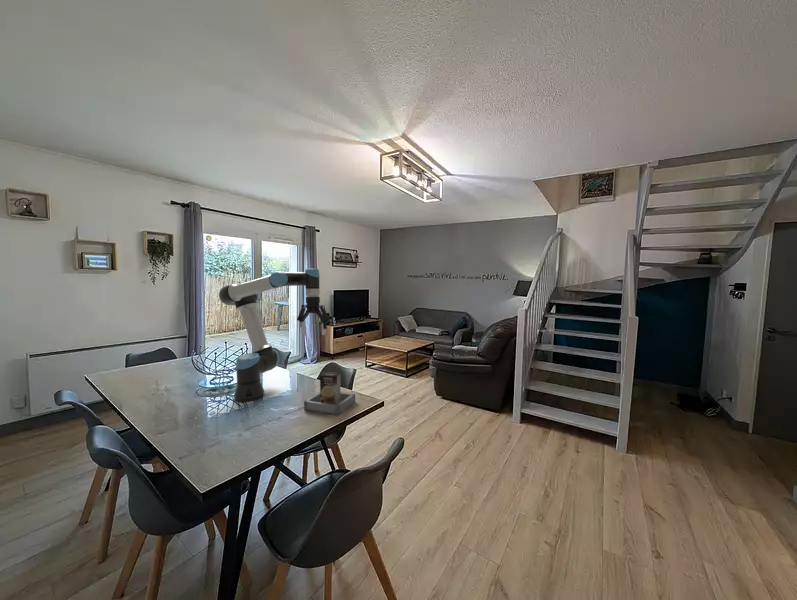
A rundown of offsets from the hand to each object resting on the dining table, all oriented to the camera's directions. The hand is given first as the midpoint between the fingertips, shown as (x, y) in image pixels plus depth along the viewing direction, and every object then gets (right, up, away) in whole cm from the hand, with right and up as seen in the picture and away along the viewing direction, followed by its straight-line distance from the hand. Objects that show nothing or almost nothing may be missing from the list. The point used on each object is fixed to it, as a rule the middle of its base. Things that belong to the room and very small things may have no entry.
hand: (313, 334), depth 171 cm
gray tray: (+13, -36, -15) cm, 40 cm away
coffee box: (+13, -35, -15) cm, 40 cm away
